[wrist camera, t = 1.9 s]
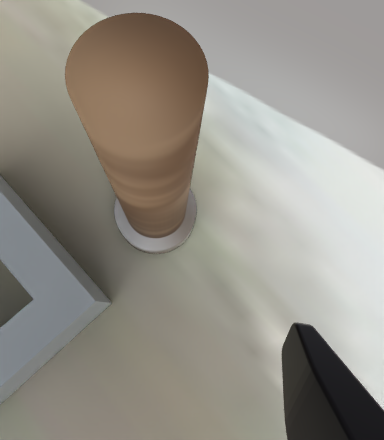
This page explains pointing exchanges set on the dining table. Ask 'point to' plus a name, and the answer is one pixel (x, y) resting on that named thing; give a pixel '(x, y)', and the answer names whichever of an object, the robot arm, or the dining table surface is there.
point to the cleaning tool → (143, 120)
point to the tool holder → (39, 294)
